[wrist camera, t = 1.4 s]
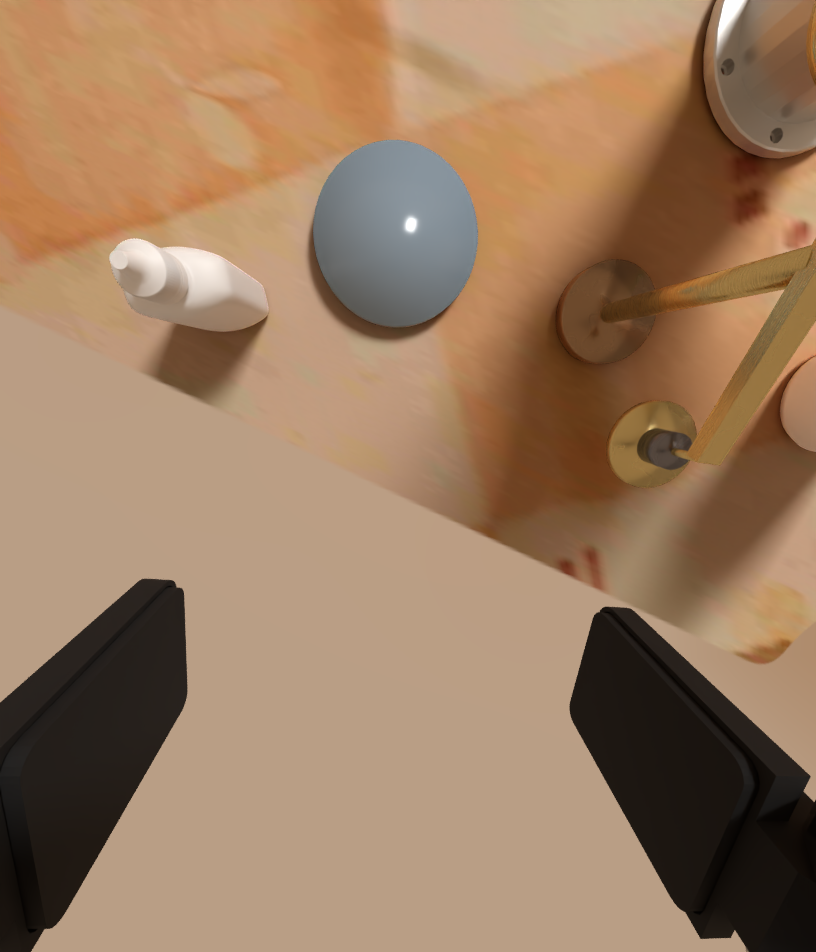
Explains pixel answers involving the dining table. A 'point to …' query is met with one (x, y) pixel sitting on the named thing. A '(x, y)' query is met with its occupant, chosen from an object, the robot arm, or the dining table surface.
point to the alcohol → (801, 406)
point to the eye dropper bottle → (187, 286)
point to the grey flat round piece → (395, 233)
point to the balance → (637, 302)
